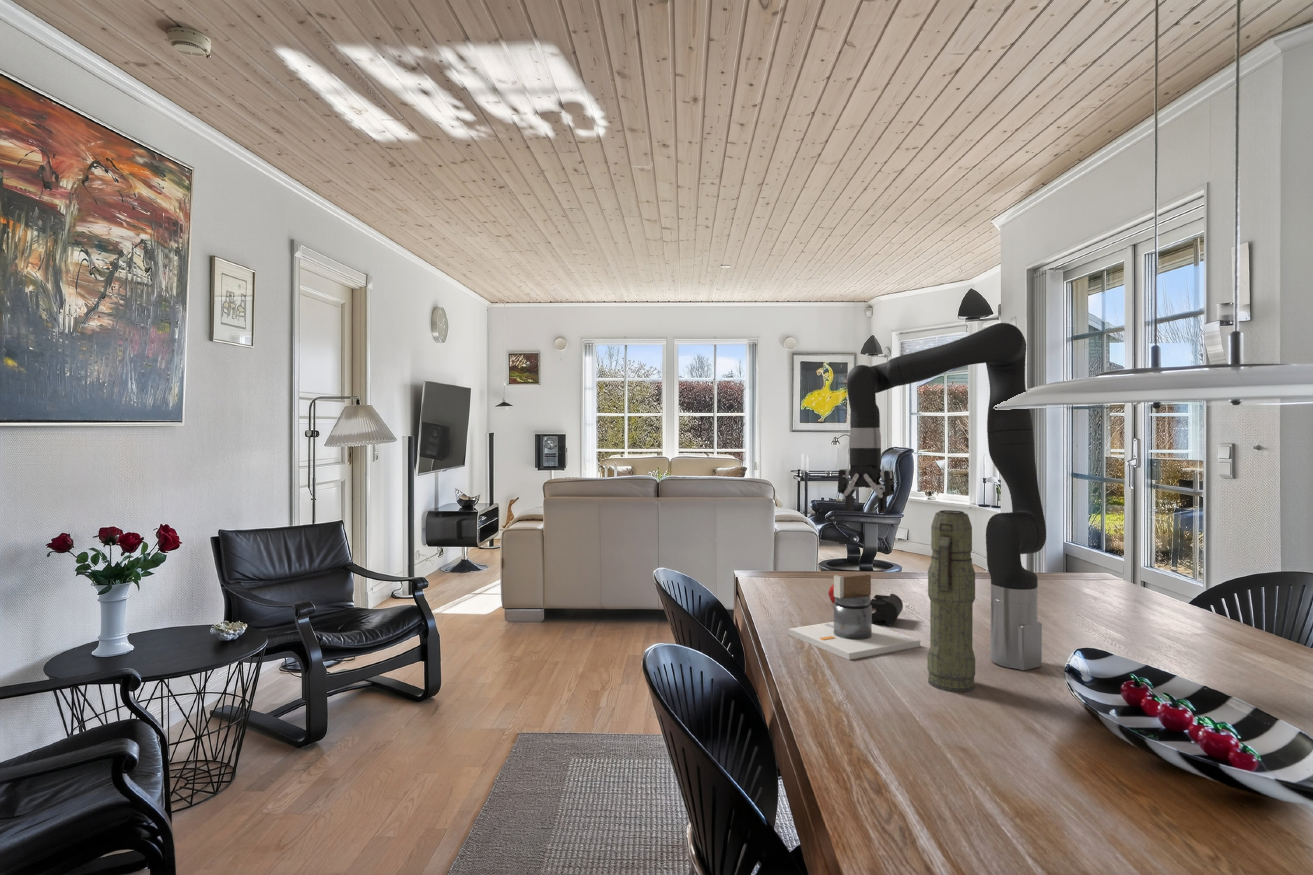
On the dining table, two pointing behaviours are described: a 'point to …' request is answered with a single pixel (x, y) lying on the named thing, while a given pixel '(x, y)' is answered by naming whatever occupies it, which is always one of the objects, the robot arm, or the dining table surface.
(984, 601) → the dining table surface
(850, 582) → the lock lever handle
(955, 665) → the thermos
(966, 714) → the dining table surface
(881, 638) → the lock base
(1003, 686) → the dining table surface
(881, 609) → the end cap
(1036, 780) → the dining table surface
